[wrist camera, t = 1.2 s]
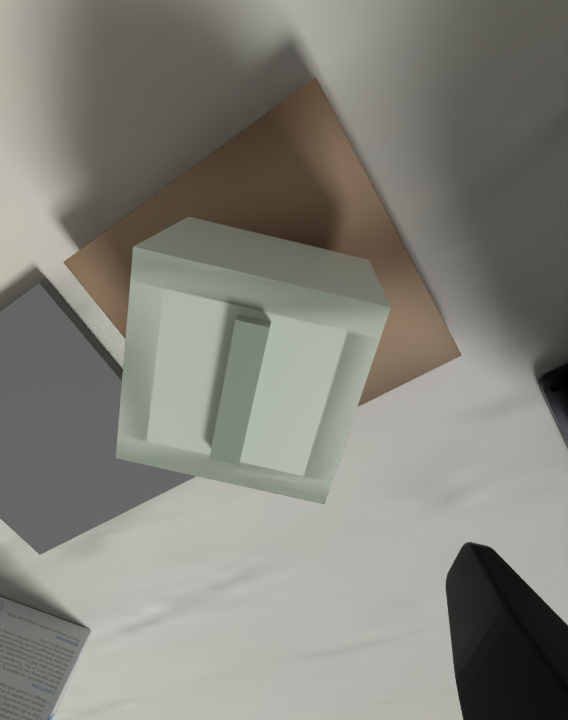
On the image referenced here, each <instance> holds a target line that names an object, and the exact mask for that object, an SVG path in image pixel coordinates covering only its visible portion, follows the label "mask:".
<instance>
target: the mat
mask: <svg viewBox="0 0 568 720" xmlns="http://www.w3.org/2000/svg"><path fill="white" fill-rule="evenodd" d="M122 375H123V370H122V369H121V368H120V366H119V365H118V364H117V363H116V362H115V360H114V359H113V358H112V357H111V356H110V354H109V353H108V352H107V351H106V350H105V348H104V347H103V346H102V345H101V344H100V342H99V341H98V340H97V339H96V338H95V336H94V335H93V334H92V333H91V332H90V330H89V329H88V328H87V327H86V326H85V324H84V323H83V322H82V321H81V320H80V318H79V317H78V316H77V315H76V314H75V312H74V311H73V310H72V309H71V308H70V306H69V305H68V304H67V303H66V302H65V300H64V299H63V298H62V297H61V296H60V294H59V293H58V292H57V291H56V290H55V288H54V287H53V286H52V285H51V284H50V282H49V281H48V280H47V279H46V280H44V281H42V282H40V283H38V284H37V285H36V286H34V287H33V288H32V289H30V290H29V291H27V292H26V293H25V294H23V295H22V296H21V297H19V298H18V299H16V300H15V301H14V302H12V303H11V304H10V305H8V306H7V307H5V308H4V309H3V310H1V311H0V518H1V519H2V520H3V521H4V522H5V523H6V524H7V525H8V526H9V527H10V528H11V529H13V530H14V531H15V532H16V533H17V534H18V535H19V536H20V537H21V538H22V539H23V540H24V541H26V542H27V543H28V544H29V545H30V546H31V547H32V548H33V549H34V550H35V551H36V552H37V553H39V554H42V553H44V552H46V551H48V550H50V549H52V548H54V547H56V546H58V545H60V544H62V543H64V542H66V541H68V540H70V539H72V538H74V537H76V536H78V535H80V534H82V533H84V532H86V531H88V530H90V529H92V528H94V527H96V526H98V525H100V524H102V523H104V522H106V521H108V520H110V519H112V518H114V517H116V516H118V515H120V514H122V513H124V512H126V511H128V510H130V509H132V508H134V507H136V506H138V505H140V504H142V503H144V502H146V501H148V500H150V499H152V498H154V497H156V496H158V495H160V494H162V493H164V492H166V491H168V490H170V489H172V488H174V487H176V486H178V485H180V484H182V483H184V482H186V481H188V480H190V479H192V478H194V477H196V476H194V475H189V474H185V473H180V472H176V471H171V470H167V469H162V468H158V467H153V466H149V465H144V464H139V463H135V462H130V461H126V460H121V459H117V458H116V448H117V436H118V424H119V412H120V399H121V387H122Z"/></svg>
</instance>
